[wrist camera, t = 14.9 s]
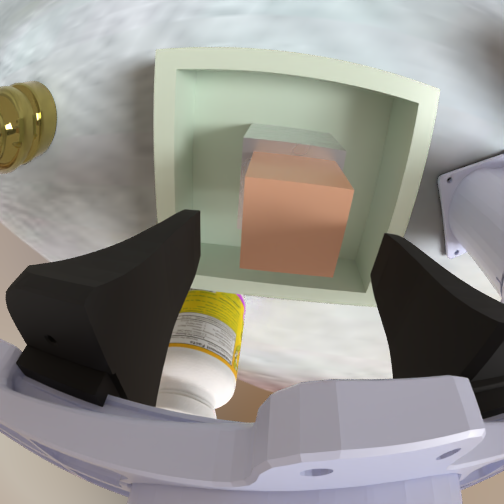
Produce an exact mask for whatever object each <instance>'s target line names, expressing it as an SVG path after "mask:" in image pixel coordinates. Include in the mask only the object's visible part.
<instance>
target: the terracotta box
mask: <svg viewBox="0 0 504 504" xmlns="http://www.w3.org/2000/svg"><path fill="white" fill-rule="evenodd" d="M353 194H354V189H353V187H352V186H351V184H350V182H349V181H348V179H347V178H346V176H345V175H344V173H343V172H342V170H341V169H340V167H339V166H338V164H337V163H336V161H331V160H324V159H317V158H310V157H302V156H294V155H286V154H276V153H266V152H255V151H254V152H253V155H252V158H251V160H250V163H249V166H248V169H247V172H246V175H245V185H244V200H243V216H242V233H241V250H240V267H239V268H241V269H251V270H261V271H270V272H280V273H290V274H300V275H311V276H321V277H332V278H333V275H334V271H335V268H336V264H337V260H338V257H339V253H340V249H341V245H342V241H343V237H344V233H345V229H346V225H347V221H348V216H349V212H350V208H351V203H352V199H353Z"/></svg>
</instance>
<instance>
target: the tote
mask: <svg viewBox="0 0 504 504" xmlns="http://www.w3.org/2000/svg"><path fill="white" fill-rule="evenodd" d="M439 95H440V89H437V88H435V87H432V86H430V85H427V84H424V83H421V82H418V81H415V80H412V79H409V78H406V77H403V76H400V75H397V74H394V73H390V72H387V71H383V70H380V69H376V68H372V67H368V66H364V65H360V64H356V63H351V62H347V61H342V60H337V59H332V58H327V57H321V56H315V55H309V54H302V53H295V52H287V51H278V50H267V49H254V48H234V47H189V48H170V49H157V50H156V55H155V75H154V172H155V193H156V209H157V222H158V223H160V222H162V221H164V220H165V219H167V218H169V217H171V216H172V215H174V214H176V213H178V212H180V211H182V210H184V209H188V210H200V232H201V257H200V261H199V264H198V268H197V272H196V275H195V278H194V280H193V283H192V285H191V287H190V288H194V289H202V290H209V291H217V292H225V293H233V294H241V295H250V296H259V297H268V298H277V299H287V300H297V301H307V302H318V303H330V304H342V305H354V306H368V307H376V306H377V304H376V301H375V298H374V294H373V289H372V283H371V277H370V274H371V271H372V268H373V265H374V262H375V260H376V257H377V254H378V251H379V248H380V245H381V242H382V239H383V236H384V233H389V234H395V235H399V236H401V237H404V234H405V231H406V228H407V225H408V222H409V219H410V216H411V213H412V210H413V207H414V203H415V200H416V197H417V193H418V190H419V186H420V183H421V179H422V175H423V171H424V168H425V164H426V160H427V155H428V151H429V147H430V142H431V138H432V133H433V128H434V123H435V118H436V113H437V107H438V101H439ZM252 123H253V124H264V125H273V126H282V127H290V128H297V129H304V130H311V131H318V132H324V133H330V134H331V135H332V136H333V137H334V138H335V139H336V140H337V141H338V142H339V144H340V145H341V146H342V147H343V148H344V149H345V150H346V151H347V152H346V157H345V163H344V168H343V173H344V175H345V176H346V178H347V179H348V181H349V182H350V184H351V186H352V187H353V189H354V194H353V199H352V203H351V208H350V212H349V216H348V221H347V225H346V229H345V233H344V237H343V241H342V245H341V249H340V253H339V257H338V260H337V264H336V268H335V271H334V275H333V278H332V277H321V276H311V275H300V274H290V273H280V272H270V271H261V270H251V269H241V268H239V267H240V250H241V233H242V230H241V229H237V218H238V204H239V189H240V175H241V162H242V149H243V137H244V136H245V134H246V132H247V131H248V129H249V127H250V126H251V124H252Z"/></svg>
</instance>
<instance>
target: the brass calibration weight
mask: <svg viewBox="0 0 504 504" xmlns="http://www.w3.org/2000/svg"><path fill="white" fill-rule="evenodd" d="M56 123H57V113H56V106H55V102H54V99H53V97H52V95H51V93H50V91H49V90H48V89H47V88H46V87H45V86H44V85H43V84H42V83H40V82H37V81H28V82H23V83H15V84H12V85H10V86H1V87H0V174H7V173H10V172H12V171H14V170H15V169H17V168H18V167H19V166H20V165H24V164H27V163H29V162H30V161H31V160H32V159H34V158H36V157H38V156H40V155H42V154H43V153H44V152H45V151H46V150H47V149H48V148H49V146H50V144H51V142H52V140H53V137H54V134H55V130H56Z"/></svg>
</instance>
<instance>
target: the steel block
mask: <svg viewBox="0 0 504 504" xmlns="http://www.w3.org/2000/svg"><path fill="white" fill-rule="evenodd" d="M254 151H255V152H266V153H276V154H286V155H294V156H302V157H310V158H317V159H324V160H331V161H336V163H337V164H338V166H339V167H340V169H341V170H342V172H343V168H344V163H345V157H346V152H347V151H346V150H345V149H344V148H343V147H342V146H341V145H340V144H339V142H338V141H337V140H336V139H335V138H334V137H333V136H332V135H331V134H330V133H324V132H318V131H311V130H304V129H297V128H290V127H282V126H273V125H264V124H253V123H252V124H251V126H250V127H249V129H248V131H247V132H246V134H245V136H244V137H243V149H242V162H241V175H240V189H239V204H238V218H237V229H241V230H242V216H243V200H244V185H245V175H246V172H247V169H248V166H249V163H250V160H251V158H252V155H253V152H254Z"/></svg>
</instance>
